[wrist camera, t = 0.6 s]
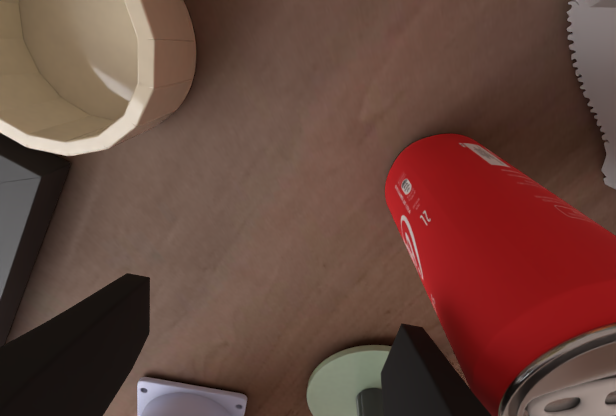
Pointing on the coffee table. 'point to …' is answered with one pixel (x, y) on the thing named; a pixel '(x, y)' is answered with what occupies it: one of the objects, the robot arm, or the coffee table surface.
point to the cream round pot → (91, 70)
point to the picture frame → (23, 217)
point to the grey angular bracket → (597, 68)
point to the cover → (349, 383)
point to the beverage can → (510, 278)
